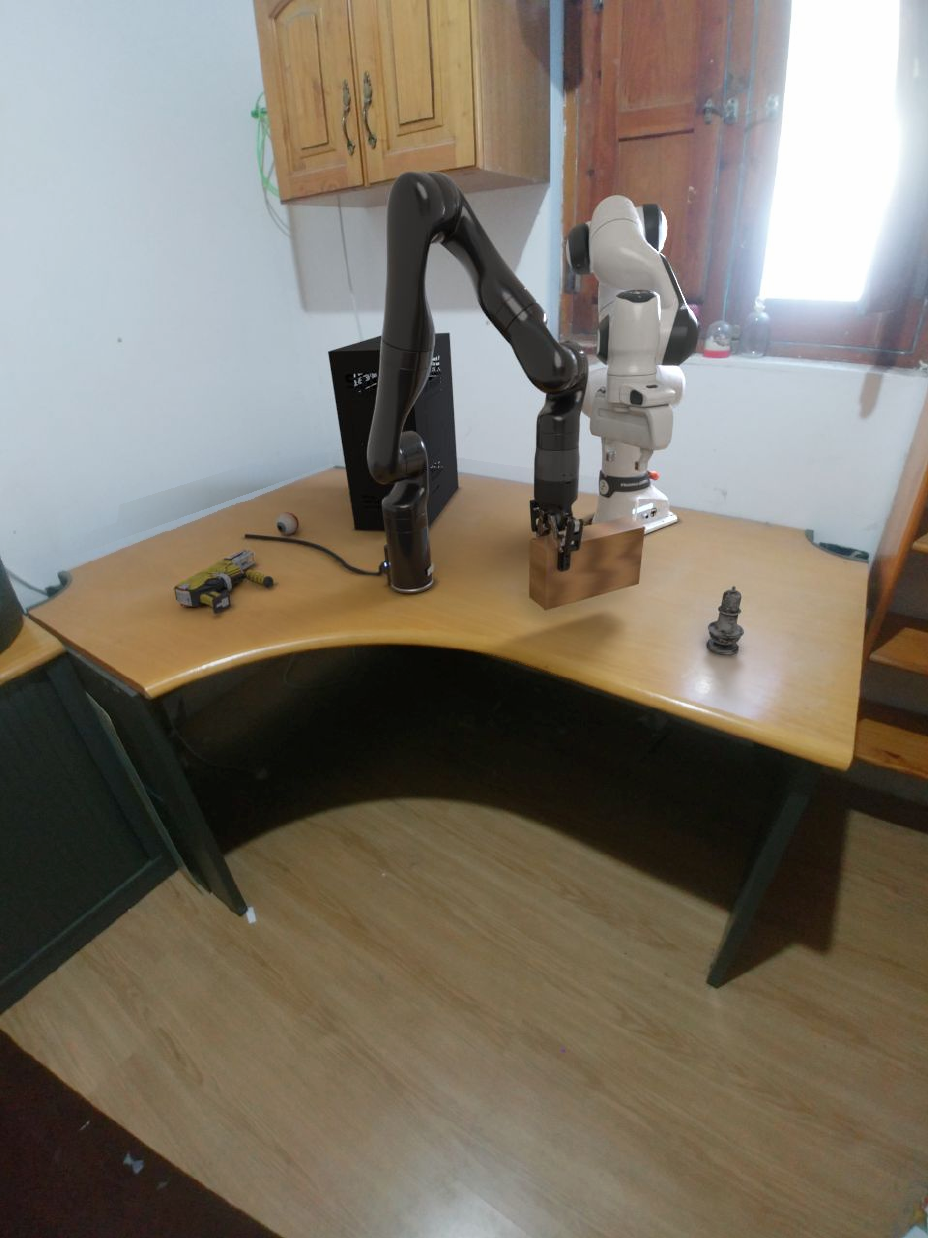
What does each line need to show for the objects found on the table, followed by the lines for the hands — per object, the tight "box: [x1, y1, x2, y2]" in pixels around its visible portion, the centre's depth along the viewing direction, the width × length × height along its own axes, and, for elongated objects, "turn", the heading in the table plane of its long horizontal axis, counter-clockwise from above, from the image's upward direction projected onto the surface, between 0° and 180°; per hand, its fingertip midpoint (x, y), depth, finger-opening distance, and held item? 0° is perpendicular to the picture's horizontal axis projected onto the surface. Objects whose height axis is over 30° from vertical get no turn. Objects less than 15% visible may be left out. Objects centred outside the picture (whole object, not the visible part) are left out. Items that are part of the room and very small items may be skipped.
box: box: [528, 517, 645, 611], centre depth 113 cm, size 21×6×12 cm, turn 115°
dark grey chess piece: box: [706, 585, 745, 655], centre depth 104 cm, size 6×6×12 cm
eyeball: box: [275, 511, 300, 536], centre depth 163 cm, size 6×6×6 cm
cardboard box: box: [327, 332, 460, 532], centre depth 168 cm, size 38×20×45 cm, turn 167°
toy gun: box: [173, 548, 274, 614], centre depth 136 cm, size 5×24×15 cm
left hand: (553, 563), depth 110 cm, fingers closed on box, 6 cm apart
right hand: (624, 465), depth 117 cm, fingers open, 8 cm apart
